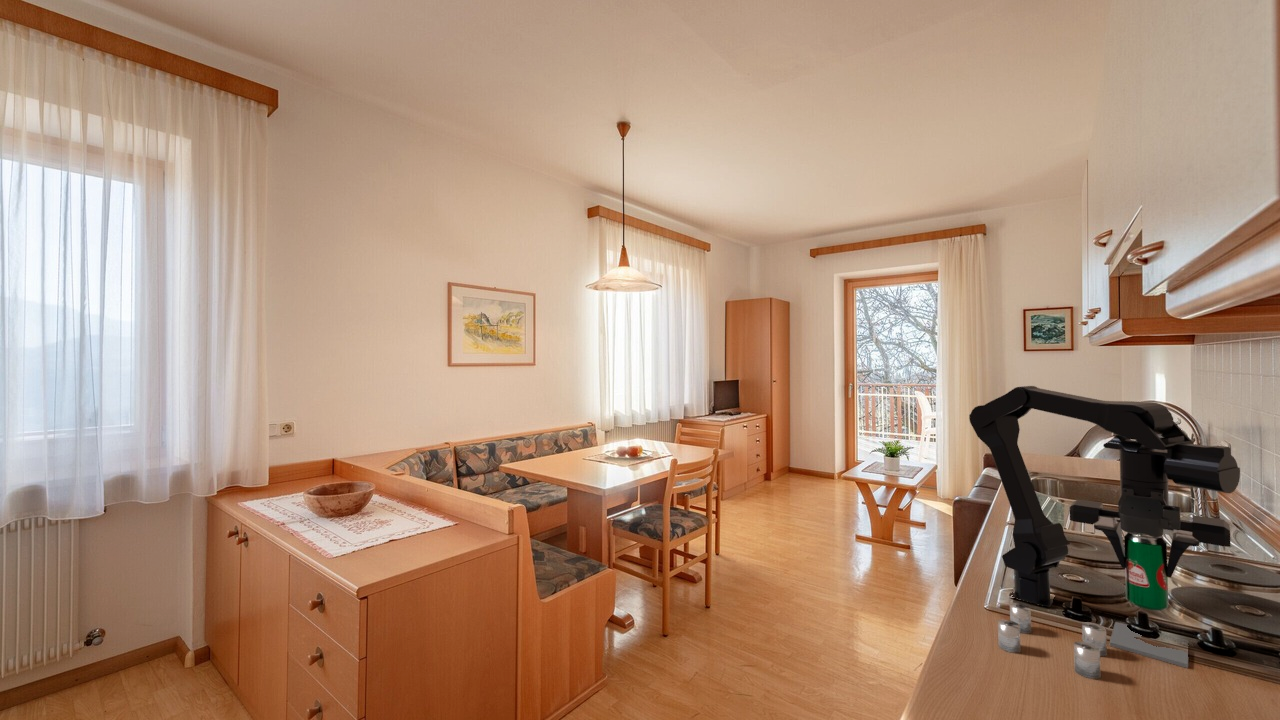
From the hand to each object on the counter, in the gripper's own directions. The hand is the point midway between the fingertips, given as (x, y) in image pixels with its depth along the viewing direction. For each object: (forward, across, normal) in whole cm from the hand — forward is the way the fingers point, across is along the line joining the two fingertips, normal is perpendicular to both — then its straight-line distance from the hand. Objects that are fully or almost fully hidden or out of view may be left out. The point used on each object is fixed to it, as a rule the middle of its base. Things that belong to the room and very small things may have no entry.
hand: (1145, 571), depth 86 cm
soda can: (+6, 0, 0) cm, 6 cm away
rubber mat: (+12, 0, 0) cm, 12 cm away
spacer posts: (+12, -11, -12) cm, 20 cm away
